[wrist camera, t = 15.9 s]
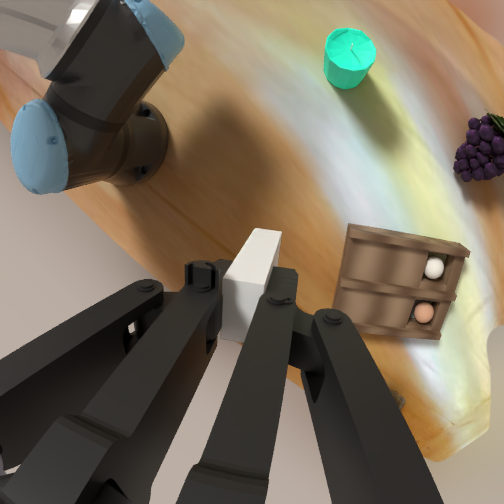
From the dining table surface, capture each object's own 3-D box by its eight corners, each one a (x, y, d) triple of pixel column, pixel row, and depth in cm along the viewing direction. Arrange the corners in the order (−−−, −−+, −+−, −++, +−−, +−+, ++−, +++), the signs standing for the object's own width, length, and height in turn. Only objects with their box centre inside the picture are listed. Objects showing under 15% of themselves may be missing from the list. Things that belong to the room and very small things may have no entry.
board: (329, 315, 49) (330, 328, 45) (348, 223, 43) (351, 230, 39) (432, 326, 45) (439, 339, 41) (459, 243, 40) (470, 251, 36)
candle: (365, 90, 36) (381, 69, 25) (324, 88, 37) (327, 66, 26) (361, 54, 34) (375, 24, 23) (322, 52, 35) (322, 20, 24)
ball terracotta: (407, 319, 44) (422, 329, 41) (413, 300, 43) (429, 310, 40) (419, 314, 46) (433, 323, 43) (424, 296, 45) (439, 305, 42)
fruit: (436, 151, 39) (488, 94, 30) (475, 199, 38) (527, 144, 29) (444, 155, 31) (506, 86, 22) (490, 215, 30) (552, 148, 21)
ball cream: (416, 273, 42) (429, 282, 39) (421, 252, 41) (434, 260, 38) (432, 273, 43) (444, 282, 40) (437, 253, 42) (450, 260, 38)
